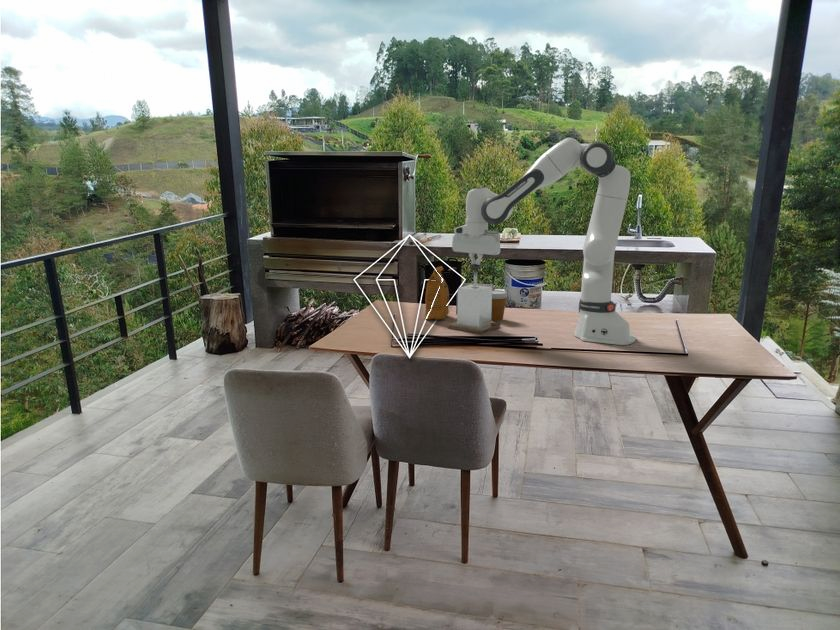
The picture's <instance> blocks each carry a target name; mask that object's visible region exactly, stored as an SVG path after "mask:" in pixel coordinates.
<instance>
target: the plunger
mask: <svg viewBox="0 0 840 630" xmlns="http://www.w3.org/2000/svg"><path fill="white" fill-rule="evenodd" d="M469 269H470V270H473V285H474V288H477V285H478V279H477V278H478V271H479V270H481V269H482V264H480V265H472V264H470V265H469Z"/></svg>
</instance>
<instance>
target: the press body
mask: <svg viewBox="0 0 840 630" xmlns="http://www.w3.org/2000/svg"><path fill="white" fill-rule="evenodd" d="M492 290H493V286H486V285H485V286H484V285H480V284H479V285H478V284H477V288H474V284H468V285H465V286H461V287H458V288H457V292H456V294H455V296H456V303H455V304H456V306H455V307H456V308H455V309H456V310H455V315H456V316H457V317H456V318H457V319H456V321H455V322H452V323H449V324H448V325H447V327H448V328H447V329H451V330H457V331H462V332H468V333H474V334H480V335H484V334H487V333H489V332H491V331H493V330H497V329H499V328H500V327H501V323H499V322H494V321H491V311H492Z"/></svg>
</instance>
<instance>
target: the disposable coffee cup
mask: <svg viewBox="0 0 840 630" xmlns="http://www.w3.org/2000/svg"><path fill="white" fill-rule="evenodd" d="M507 297H508V294H507V291H505V290H501V289H499V290H498V289H495V290H493V289H492V311H491V322H501V321H504V314H505V310H506V309H505V308H506V303H507Z"/></svg>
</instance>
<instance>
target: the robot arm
mask: <svg viewBox="0 0 840 630" xmlns="http://www.w3.org/2000/svg"><path fill="white" fill-rule="evenodd" d="M577 167H580V168H582V169H584V170H585V172H587V173H588V174H591V175H595V176H596V177H597V178H598V187H597V191H596V194H595V198H594V204H593V206H592V207H593V208H592V212H591V216H590V220H589V224H588V228H587V231H586V236H585V239H584V240H585V241H584V244H583V247H582V248H583V249H582V255H583V264H582V274H581V275H582V276H581V289H580V291H581V292H580V298H579V303H578V320H577V325H576V327H575V331H574V334H573V335H574V336H575V338H578V339H580V340H581V341H582V342H588V343H598V344H608V345H609V344H610V345H617V346H627V345H630V344H633V343H635V342H636V341H637V337H636V335H634V334H631V327H630V324H629V322H628V321H627V320H626V319H625V318H624V317H622V316H621V315H620V314H619V313H618V312H617V311H616V310H617V309H616V307H617V304H618V303H617V302H616V303H615V302H613V300H612V293H613V292H612V290H613V279H614V278H613V276H614V264H615V262H614V261H615V252H616V248H617V244H618V240H619V239H618V238H619V236H620V231H621V227H622V222H623V219H624V215H625V211H626V207H627V203H628V198H629V194H630V188H631V179H632V177H631V176H632V175H631V172H630V170H629V169H628V168H627V167H625V166H622V165H618V164H616V161H615V157H614V153H613V151H612V149H611V147H610V146H608V145H607V144H606V143H604V142H602V141H601V142H600V141H595V142H592V143H589V144H588V145H583V144H581V143H580V142H579V140H577V139H575V138H573V137H566V138H564V139H562V140H560V141H559V142H558V143H556V144H554V145H553V146H551V147H550V148H548V149H547V150H546V151H545V152H544V153H542V155H540V156H539V157H537V159H536V160H535V162H533V164H532V165H531V166H530V167H529V169H528V170H527V171H526V172H525V173H524V174H523V176H521V177H520V179H518V180H517V181H516V182H515V183H513V184H512V185H511V186H509V187H508V188H507V189H506V190H505V191H503V192H502V193H500V194H497V193H495V192H493V191H491V190H490V189H489V188H488V187H486V186H481V187H476V188H471V189H469V190H468V192H467V194H466V199H465V200H466V201H465V214H466V218H465V222H464V223H465V224H464V225H460V226H458V227H455V228H454V229H453V233H454V235H453V236H452V246H451V248H452V251H453V252H454V253H455V252H456V253H466V254H467V253H468V256H469V259H470V261H471V264H472V265H481V260H482V258H483V256H484V255H488V256H489V255H491V256H496V255H500V253H501V241H500V240H501V234H500V232H498V231H497V230H489V224H490V225H499V224H501V223H502V222H505V221H506V220H508V219H509V218H510V217H511V216H512V215H513V213H514V207H515V206H516V205H517V204H519V203H520V202H521V201H522V200H524V199H525V198H526V197H527V196H528V195H530V194H531V193H533V192H535V191H537V190H540V189H543V188H546V187H549V186H550V185H553V184H555V182H557V181H559V180H561V178H563V177H564V176H566V175H567V173H569V172H570V171H572V170H573V169H575V168H577ZM475 255H476V256H477V259H476V258H475Z"/></svg>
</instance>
